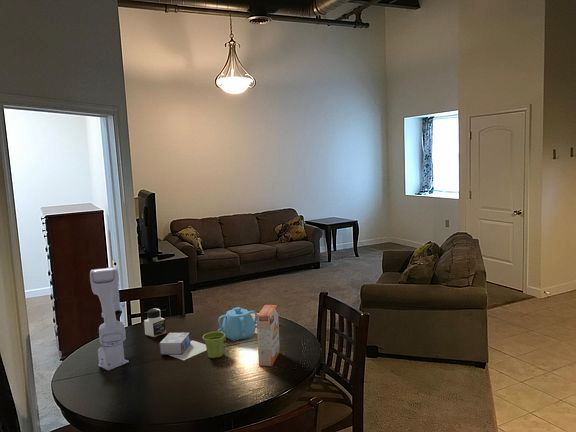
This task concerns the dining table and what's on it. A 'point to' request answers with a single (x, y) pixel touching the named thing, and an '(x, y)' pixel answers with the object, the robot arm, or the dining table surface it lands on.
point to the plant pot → (214, 343)
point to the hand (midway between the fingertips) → (115, 327)
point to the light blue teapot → (238, 324)
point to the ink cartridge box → (175, 343)
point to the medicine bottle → (154, 323)
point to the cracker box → (268, 335)
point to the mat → (191, 350)
